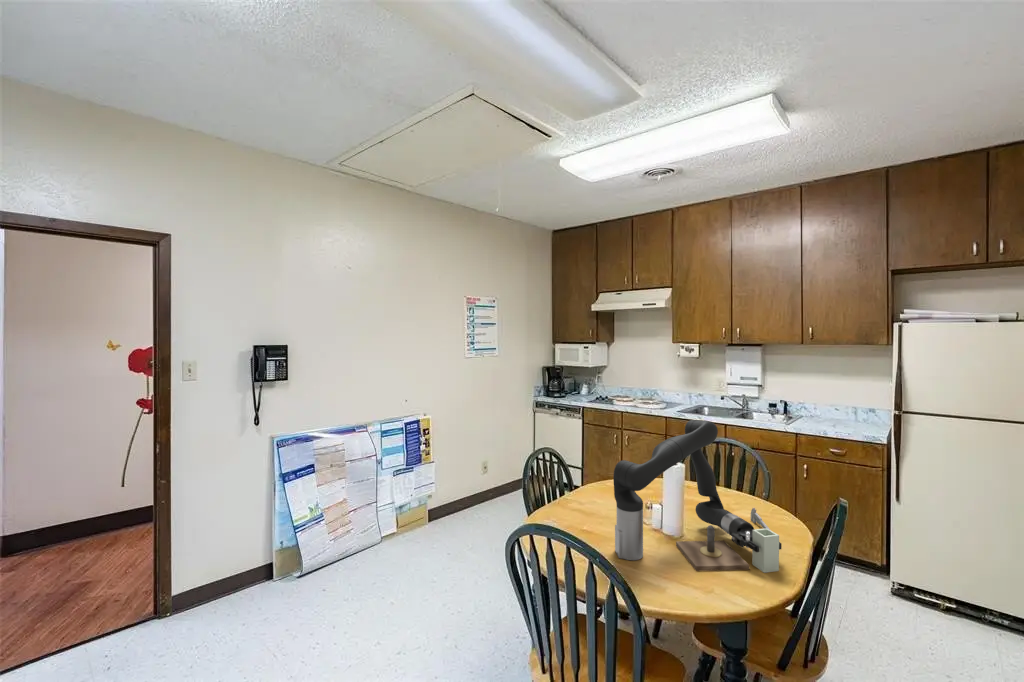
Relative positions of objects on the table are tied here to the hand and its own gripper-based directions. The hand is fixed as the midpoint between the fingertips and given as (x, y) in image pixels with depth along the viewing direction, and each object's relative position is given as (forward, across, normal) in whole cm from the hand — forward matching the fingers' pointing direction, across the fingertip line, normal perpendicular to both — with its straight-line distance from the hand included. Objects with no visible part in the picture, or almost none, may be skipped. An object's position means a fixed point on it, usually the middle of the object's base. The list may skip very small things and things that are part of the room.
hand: (769, 548), depth 157 cm
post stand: (-12, -13, +8) cm, 20 cm away
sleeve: (-2, 0, +8) cm, 8 cm away
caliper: (-26, +19, +8) cm, 33 cm away
